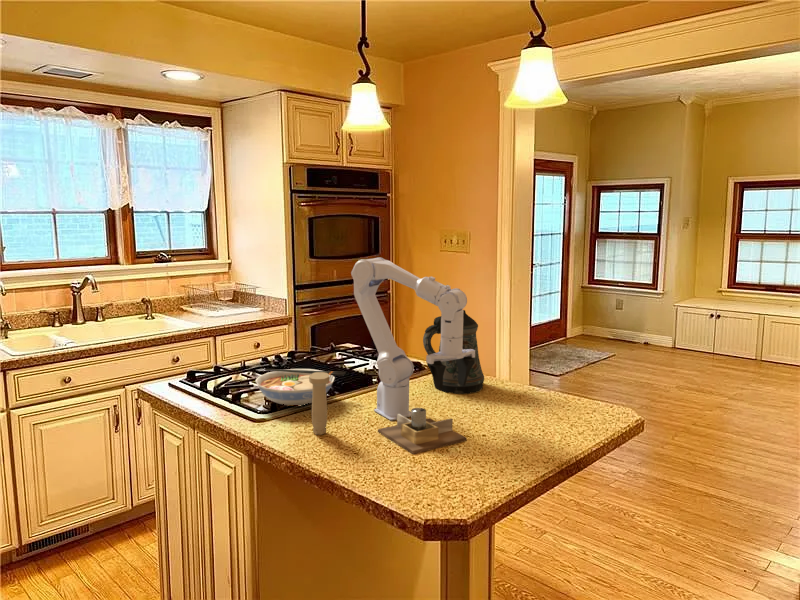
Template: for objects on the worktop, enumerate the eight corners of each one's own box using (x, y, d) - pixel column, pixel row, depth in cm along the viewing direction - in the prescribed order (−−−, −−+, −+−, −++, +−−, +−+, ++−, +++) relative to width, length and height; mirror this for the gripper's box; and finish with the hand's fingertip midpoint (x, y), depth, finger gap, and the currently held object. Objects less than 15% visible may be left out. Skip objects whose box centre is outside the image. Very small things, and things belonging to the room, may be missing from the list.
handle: (330, 428, 154) (330, 372, 152) (327, 437, 148) (327, 379, 146) (311, 428, 154) (311, 372, 152) (308, 437, 148) (307, 379, 146)
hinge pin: (408, 436, 147) (408, 409, 146) (421, 433, 149) (421, 406, 148) (416, 441, 144) (415, 413, 143) (429, 438, 146) (428, 411, 145)
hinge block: (377, 432, 152) (378, 417, 152) (429, 421, 161) (429, 407, 160) (412, 454, 139) (412, 438, 138) (466, 440, 147) (467, 426, 147)
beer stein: (494, 386, 193) (496, 310, 189) (457, 400, 179) (459, 318, 175) (453, 376, 204) (455, 304, 200) (415, 388, 190) (417, 311, 186)
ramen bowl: (237, 412, 166) (237, 383, 165) (272, 388, 188) (272, 363, 187) (323, 420, 160) (322, 390, 159) (348, 395, 182) (348, 369, 181)
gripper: (438, 342, 147) (436, 395, 149) (483, 336, 155) (481, 386, 157) (421, 336, 153) (421, 387, 155) (466, 331, 161) (464, 380, 163)
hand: (450, 386), depth 157 cm, fingers open, 7 cm apart
